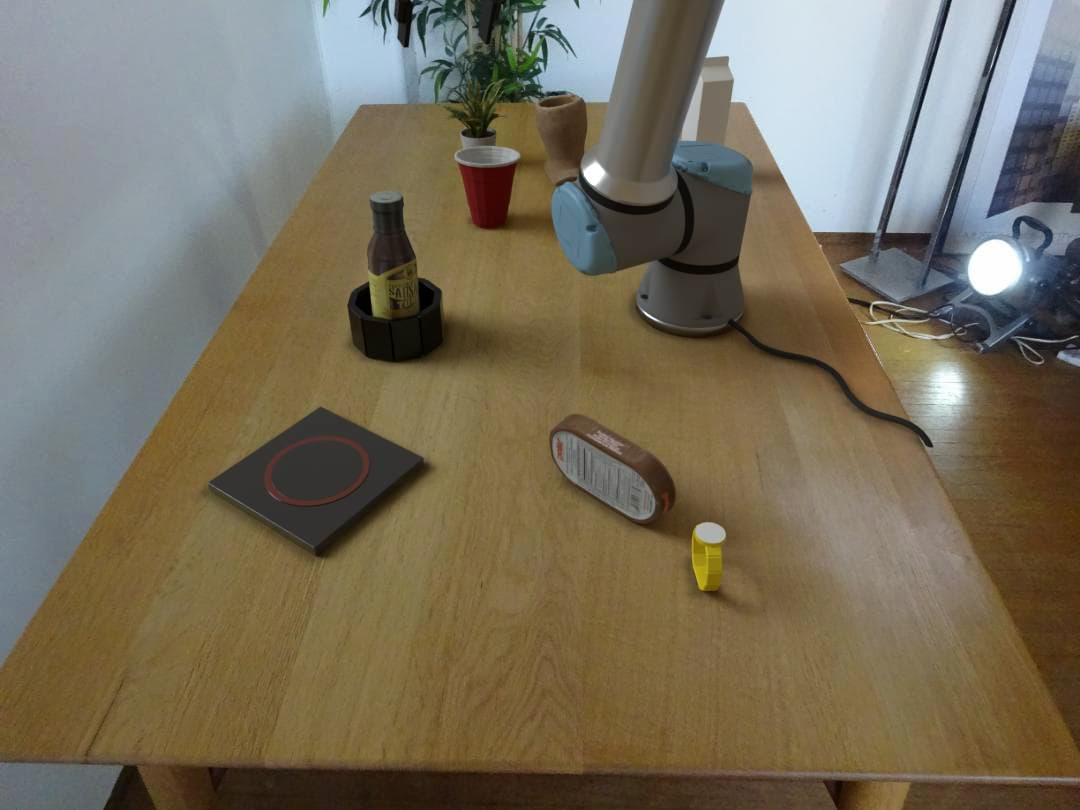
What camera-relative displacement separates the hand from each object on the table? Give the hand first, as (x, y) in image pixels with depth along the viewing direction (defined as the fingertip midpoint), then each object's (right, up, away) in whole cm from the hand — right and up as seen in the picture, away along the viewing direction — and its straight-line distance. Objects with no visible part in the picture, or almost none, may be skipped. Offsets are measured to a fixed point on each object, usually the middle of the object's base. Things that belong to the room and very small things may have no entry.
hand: (444, 41), depth 123 cm
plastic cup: (+6, -24, +15) cm, 29 cm away
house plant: (+3, -7, +37) cm, 38 cm away
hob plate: (-9, -64, -36) cm, 74 cm away
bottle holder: (-4, -46, -14) cm, 49 cm away
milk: (+45, -13, +31) cm, 56 cm away
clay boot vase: (+20, -13, +30) cm, 38 cm away
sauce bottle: (-4, -46, -14) cm, 49 cm away
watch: (+30, -72, -47) cm, 91 cm away
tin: (+22, -66, -38) cm, 79 cm away
